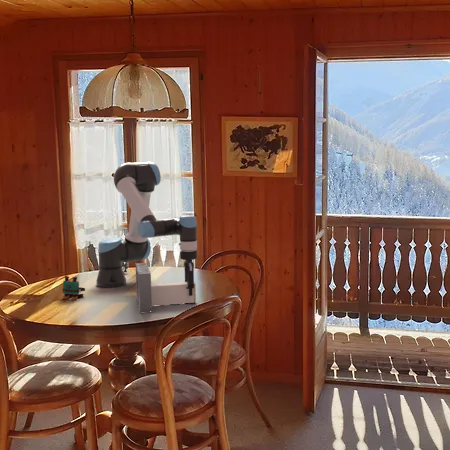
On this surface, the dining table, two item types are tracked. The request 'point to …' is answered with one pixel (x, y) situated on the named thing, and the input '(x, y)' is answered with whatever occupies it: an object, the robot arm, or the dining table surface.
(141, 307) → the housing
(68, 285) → the binoculars
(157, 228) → the robot arm
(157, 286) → the grey rectangular block
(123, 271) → the valve
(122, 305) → the dining table surface
